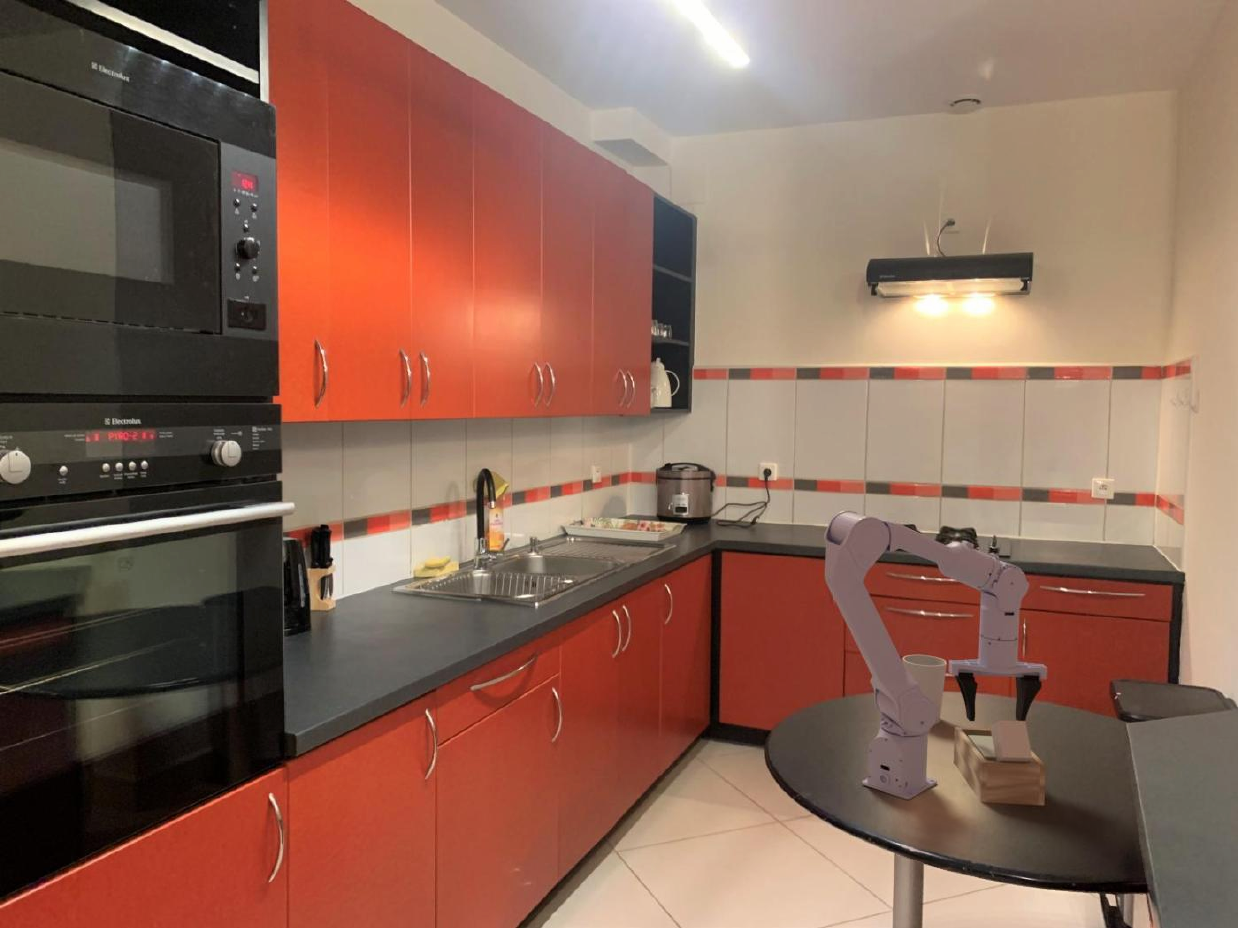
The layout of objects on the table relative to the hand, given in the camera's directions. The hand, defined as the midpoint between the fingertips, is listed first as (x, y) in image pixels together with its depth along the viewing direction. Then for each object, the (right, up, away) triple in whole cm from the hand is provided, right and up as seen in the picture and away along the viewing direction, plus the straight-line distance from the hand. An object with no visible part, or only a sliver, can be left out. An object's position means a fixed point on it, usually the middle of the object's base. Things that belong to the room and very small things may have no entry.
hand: (995, 720), depth 143 cm
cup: (-2, -9, +28) cm, 29 cm away
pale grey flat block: (0, -7, -2) cm, 8 cm away
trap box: (0, -10, -1) cm, 10 cm away
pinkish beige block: (-1, -4, -8) cm, 9 cm away
